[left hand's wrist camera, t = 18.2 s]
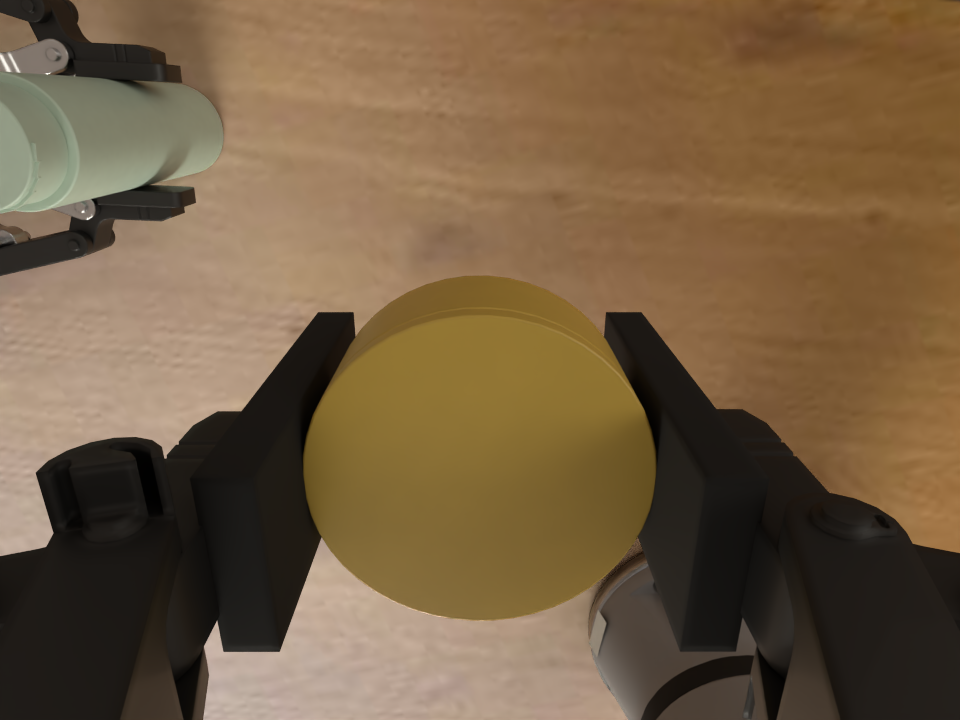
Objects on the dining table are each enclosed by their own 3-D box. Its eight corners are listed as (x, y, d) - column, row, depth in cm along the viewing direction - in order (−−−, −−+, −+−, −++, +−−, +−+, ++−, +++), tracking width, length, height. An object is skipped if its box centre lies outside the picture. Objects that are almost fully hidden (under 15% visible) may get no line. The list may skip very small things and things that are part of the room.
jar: (143, 171, 36) (-90, 217, 21) (131, 80, 34) (-130, 62, 19) (227, 176, 36) (53, 226, 21) (220, 86, 34) (26, 73, 20)
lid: (673, 327, 11) (718, 379, 9) (564, 564, 13) (580, 654, 11) (374, 233, 11) (348, 265, 9) (305, 497, 13) (270, 576, 10)
